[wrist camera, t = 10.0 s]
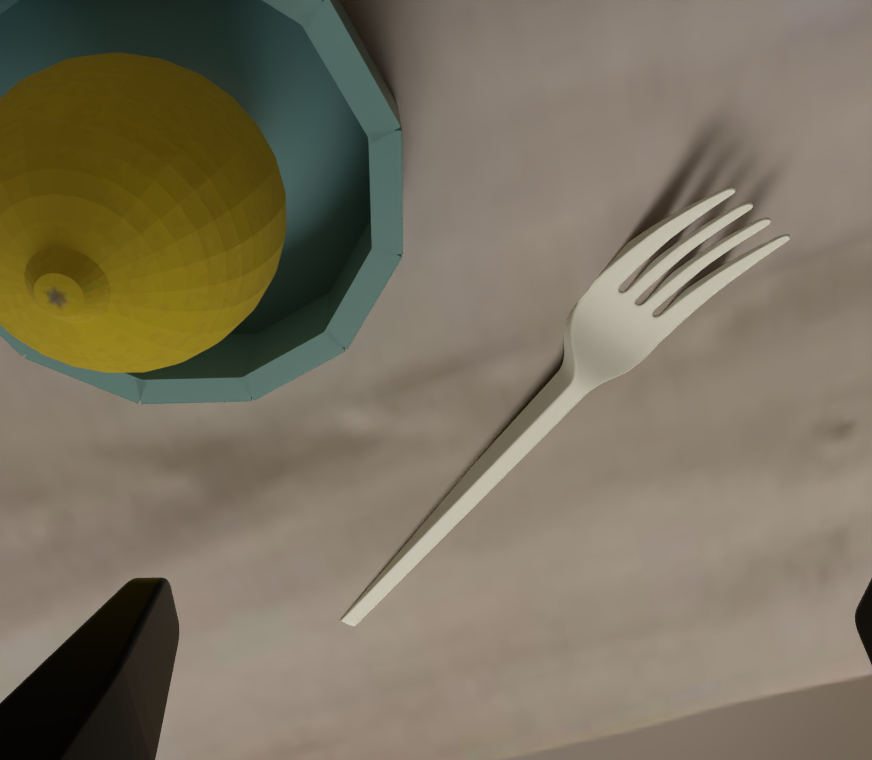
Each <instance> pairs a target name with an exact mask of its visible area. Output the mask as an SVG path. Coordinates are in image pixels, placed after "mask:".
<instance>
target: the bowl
mask: <svg viewBox="0 0 872 760" xmlns="http://www.w3.org/2000/svg"><path fill="white" fill-rule="evenodd" d="M114 52H117V53H127V54H134V55H140V56H147V57H154V58H160V59H164V60H167V61H169V62H171V63H174V64H176V65H179V66H181V67H184V68H186V69H189V70H191V71H194V72H196V73H198V74H201V75H202V76H204V77H205V78H207V79H208V80H210V81H211V82H212V83H214V84H215V85H217V86H218V87H219V88H221V89H222V90H224V91H225V92H227V93H228V94H229V95H231V96H232V97H233V98H234V99H235V100H236V101H237V102H238V103H239V104H240V106H241V107H242V108H243V109H244V110H245V111H246V112H247V113H248V115H249V116H250V117H251V118H252V119H253V120H254V121H255V122H256V123H257V125H258V126H259V128H260V130H261V132H262V133H263V135H264V137H265V139H266V140H267V142H268V144H269V146H270V148H271V149H272V151H273V153H274V155H275V157H276V160H277V164H278V167H279V171H280V174H281V178H282V181H283V185H284V189H285V192H286V236H285V240H284V244H283V248H282V252H281V256H280V260H279V264H278V268H277V271H276V273H275V275H274V277H273V279H272V281H271V282H270V284H269V286H268V287H267V289H266V291H265V293H264V294H263V296H262V298H261V300H260V301H259V303H258V305H257V306H256V307H255V309H254V310H253V311H252V312H251V313H250V314H249V315H248V316H247V317H246V318H245V319H244V320H243V321H242V322H241V323H240V324H239V325H238V326H237V327H236V328H235V329H234V330H232V331H231V332H230V333H229V334H228V335H227V336H226V337H225V338H224V339H223V340H221V341H220V342H219V343H217V344H216V345H214V346H212V347H210V348H209V349H207V350H205V351H203V352H201V353H199V354H197V355H196V356H194V357H192V358H190V359H188V360H186V361H184V362H182V363H179V364H176V365H172V366H168V367H164V368H160V369H156V370H152V371H148V372H133V373H105V372H100V371H94V370H89V369H84V368H78V367H73V366H70V365H68V364H65V363H63V362H60V361H58V360H55V359H52V358H50V357H47V356H45V355H42V354H40V353H39V352H37V351H36V350H34V349H32V348H31V347H29V346H28V345H26V344H25V343H23V342H21V341H20V340H18V339H17V338H15V337H13V336H12V335H11V334H10V333H9V332H8V331H7V330H6V329H4V328H3V327H2V326H1V325H0V336H1V337H2V338H3V339H4V340H5V341H7V342H8V343H9V344H10V345H11V346H12V347H13V348H14V349H15V350H16V351H17V352H18V353H19V354H20V355H21V356H22V355H24V354H26V356H25V358H26V359H28V360H31V361H33V362H35V363H38V364H40V365H43V366H45V367H48V368H50V369H53V370H55V371H58V372H60V373H63V374H65V375H68V376H70V377H73V378H75V379H78V380H80V381H83V382H85V383H88V384H90V385H93V386H95V387H98V388H100V389H103V390H105V391H108V392H110V393H113V394H115V395H118V396H120V397H123V398H125V399H128V400H130V401H133V402H135V403H138V402H139V401H140V400H141V404H167V403H204V402H241V401H252V398H253V399H254V400H256V399H258V398H260V397H262V396H264V395H265V394H267V393H269V392H271V391H273V390H275V389H276V388H278V387H280V386H282V385H284V384H286V383H288V382H289V381H291V380H293V379H295V378H297V377H299V376H300V375H302V374H304V373H306V372H308V371H310V370H311V369H313V368H315V367H317V366H319V365H321V364H323V363H324V362H326V361H328V360H330V359H332V358H334V357H335V356H337V355H339V354H341V353H343V352H345V348H346V349H348V347H349V346H350V344H351V342H352V341H353V339H354V337H355V336H356V334H357V332H358V330H359V329H360V327H361V325H362V324H363V322H364V320H365V319H366V317H367V315H368V314H369V312H370V310H371V309H372V307H373V305H374V304H375V302H376V300H377V299H378V297H379V295H380V293H381V292H382V290H383V288H384V287H385V285H386V283H387V282H388V280H389V278H390V277H391V275H392V273H393V272H394V270H395V268H396V267H397V265H398V263H399V262H400V260H401V258H402V254H403V214H402V129H401V123H400V118H399V112H398V106H397V103H396V101H395V99H394V97H393V96H392V94H391V92H390V90H389V88H388V86H387V85H386V83H385V81H384V79H383V77H382V76H381V74H380V72H379V70H378V68H377V67H376V65H375V63H374V61H373V59H372V58H371V56H370V54H369V52H368V50H367V49H366V47H365V45H364V43H363V41H362V39H361V38H360V36H359V34H358V32H357V30H356V29H355V27H354V25H353V23H352V21H351V20H350V18H349V16H348V14H347V12H346V11H345V9H344V7H343V5H342V3H341V2H340V0H0V98H1V97H2V96H3V95H4V94H5V93H6V92H8V91H9V90H10V89H11V88H12V87H13V86H14V85H15V84H17V83H18V82H19V81H21V80H22V79H24V78H26V77H28V76H30V75H32V74H34V73H37V72H39V71H41V70H43V69H46V68H48V67H50V66H52V65H54V64H57V63H59V62H61V61H63V60H66V59H69V58H74V57H81V56H89V55H97V54H105V53H114Z"/></svg>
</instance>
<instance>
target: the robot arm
mask: <svg viewBox="0 0 872 760" xmlns="http://www.w3.org/2000/svg"><path fill="white" fill-rule="evenodd" d="M855 623H856V627H857V631H858V633H859V636H860V638H861V640H862V643H863V645H864V648H865V650H866V652H867V655H868V657H869V659H870V662H871V664H872V579H871V581H870V583H869V585H868V587H867V589H866V591H865V593H864V595H863V597H862V599H861V601H860V603H859V605H858V607H857V609H856V613H855ZM178 641H179V621H178V617H177V612H176V608H175V604H174V599H173V595H172V590H171V586H170V584H169V582H168V580H167V579H165V578H135V579H132V580H130V581H129V582H127V583H126V584H125V585H124V586H123V587H122V588H121V589H120V590H119V591H118V592H117V593H116V594H115V595H114V596H113V597H111V598H110V599H109V600H108V601H107V602H106V603H105V604H104V605H103V606H102V607H101V608H100V609H99V610H98V611H97V612H96V613H95V614H94V615H93V616H91V617H90V618H89V619H88V620H87V621H86V622H85V623H84V624H83V625H82V626H81V627H80V628H79V629H78V630H77V631H76V632H75V633H74V634H73V635H72V636H70V637H69V638H68V639H67V640H66V641H65V642H64V643H63V644H62V645H61V646H60V647H59V648H58V649H57V650H56V651H55V652H54V653H53V654H52V655H51V656H49V657H48V658H47V659H46V660H45V661H44V662H43V663H42V664H41V665H40V666H39V667H38V668H37V669H36V670H35V671H34V672H33V673H32V674H31V675H30V676H28V677H27V678H26V679H25V680H24V681H23V682H22V683H21V684H20V685H19V686H18V687H17V688H16V689H15V690H14V691H13V692H12V693H11V694H10V695H8V696H7V697H6V698H5V699H4V700H3V701H2V702H1V703H0V760H155V757H156V753H157V748H158V743H159V738H160V733H161V728H162V723H163V718H164V712H165V707H166V702H167V697H168V692H169V687H170V682H171V677H172V672H173V667H174V662H175V656H176V651H177V646H178Z"/></svg>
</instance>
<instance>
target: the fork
mask: <svg viewBox="0 0 872 760" xmlns="http://www.w3.org/2000/svg"><path fill="white" fill-rule="evenodd" d="M734 193H735V188H734V187H728V188H725V189H723V190H721V191H718V192H716V193H714V194H712V195H709V196H707V197H705V198H703V199H701V200H699V201H697V202H695V203H693V204H691V205H689V206H687V207H685V208H683V209H681V210H679V211H677V212H676V213H674V214H672V215H670V216H669V217H667V218H665V219H663V220H662V221H660V222H658V223H657V224H655V225H653V226H652V227H650V228H649V229H647V230H646V231H644V232H643V233H641V234H640V235H638V236H637V237H635V238H634V239H632V240H631V241H630V242H628V243H627V244H626V245H625V246H624V247H623V249H622V250H621V251H620V252H619V253H618V254H617V255H616V257H615V258H614V259H613V260H612V261H611V262H610V263H609V265H608V266H607V267H606V268H605V269H604V270H603V271H602V273H601V274H600V275H599V276H598V277H597V279H596V280H595V281H594V283H593V284H592V286H591V287H590V289H589V290H588V291H587V292H586V293H585V294H584V295H583V296H582V297H581V299H580V300H579V301H578V302H577V304H576V305H575V307H574V308H573V310H572V312H571V313H570V315H569V317H568V320H567V322H566V325H565V329H564V336H563V338H564V360H563V363H562V366H561V368H560V370H559V371H558V372H557V373H556V374H555V376H554V377H553V378H552V379H551V380H550V381H549V382H548V383H547V384H546V386H545V387H544V388H543V389H542V390H541V391H540V392H539V393H538V394H537V395H536V397H535V398H534V399H533V400H532V401H531V402H530V403H529V404H528V405H527V406H526V407H525V409H524V410H523V411H522V412H521V413H520V414H519V415H518V416H517V417H516V418H515V420H514V421H513V422H512V423H511V424H510V425H509V426H508V427H507V428H506V429H505V430H504V432H503V433H502V434H501V435H500V436H499V437H498V438H497V439H496V440H495V441H494V443H493V444H492V445H491V446H490V447H489V448H488V449H487V450H486V451H485V452H484V453H483V455H482V456H481V457H480V458H479V459H478V460H477V461H476V462H475V463H474V465H473V466H472V467H471V468H470V469H469V470H468V472H467V473H466V474H465V475H464V476H463V477H462V479H461V480H460V481H459V482H458V483H457V485H456V486H455V487H454V488H453V489H452V490H451V492H450V493H449V494H448V495H447V496H446V497H445V499H444V500H443V501H442V502H441V503H440V505H439V506H438V507H437V508H436V509H435V510H434V512H433V513H432V514H431V515H430V516H429V517H428V519H427V520H426V521H425V522H424V523H423V524H422V526H421V527H420V528H419V529H418V530H417V532H416V533H415V534H414V535H413V536H412V537H411V539H410V540H409V541H408V542H407V543H406V544H405V546H404V547H403V548H402V549H401V550H400V551H399V553H398V554H397V555H396V556H395V557H394V558H393V560H392V561H391V562H390V563H389V564H388V565H387V566H386V568H385V569H384V570H383V571H382V572H381V573H380V575H379V576H378V577H377V578H376V579H375V580H374V582H373V583H372V584H371V585H370V586H369V587H368V588H367V590H366V591H365V592H364V593H363V594H362V595H361V596H360V598H359V599H358V600H357V601H356V602H355V603H354V604H353V606H352V607H351V608H350V609H349V610H348V611H347V612H346V614H345V615H344V616H343V617H342V618H341V619H340V621H342V622H344V623H346V624H348V625H351V626H355V625H357V624H358V623H359V622H360V621H361V620H362V619H363V618H364V617H365V616H366V615H367V614H368V613H369V612H370V611H371V610H372V609H373V608H374V607H375V606H376V605H377V604H378V603H379V602H380V601H381V600H382V599H383V598H384V597H385V596H386V595H387V594H388V593H389V592H390V591H391V590H392V589H393V588H394V587H395V586H396V585H397V583H398V582H399V581H400V580H401V579H402V578H403V577H404V576H405V575H406V574H407V573H408V572H409V571H410V570H411V569H412V568H413V567H414V566H415V565H416V564H417V563H418V562H419V561H420V560H421V559H422V558H423V557H424V556H425V555H426V554H427V553H428V552H429V551H430V550H431V549H432V548H433V547H434V546H435V545H436V544H437V543H438V542H439V541H440V540H441V539H442V538H443V537H444V536H445V535H446V534H447V533H448V532H449V531H450V530H451V529H452V528H453V527H454V526H455V525H456V524H457V523H458V522H459V521H460V520H461V519H462V518H463V517H464V516H465V515H466V514H467V513H468V512H469V511H470V510H471V509H472V508H473V507H474V506H475V505H476V504H477V503H478V502H479V501H480V500H481V499H482V498H483V497H484V496H485V495H486V494H487V493H488V492H489V491H490V490H491V489H492V488H493V487H494V486H495V485H496V484H497V483H498V482H499V481H500V480H501V479H502V478H503V477H504V476H505V475H506V474H507V473H508V472H509V471H510V470H511V469H512V468H513V467H514V466H515V465H516V464H517V463H518V462H519V461H520V460H521V459H522V458H523V457H524V456H525V455H526V454H527V453H528V452H529V451H530V450H531V449H532V448H533V447H534V446H535V445H536V444H537V443H538V442H539V441H540V440H541V439H542V438H543V437H544V436H545V435H546V434H547V433H548V432H549V431H550V430H551V429H552V428H553V427H554V426H555V425H556V424H557V423H558V422H559V421H560V420H561V419H562V418H563V417H564V416H565V415H566V414H567V413H568V412H569V411H570V410H571V409H572V408H573V407H574V406H575V405H576V404H577V403H578V402H579V401H580V400H581V399H582V398H583V397H584V396H585V395H586V394H587V393H588V392H589V391H591V390H592V389H594V388H595V387H597V386H599V385H600V384H602V383H604V382H606V381H608V380H610V379H613V378H615V377H617V376H620V375H622V374H624V373H626V372H628V371H629V370H631V369H632V368H634V367H635V366H636V365H637V364H639V363H640V362H641V361H642V360H643V359H644V358H645V357H646V356H647V355H648V354H649V353H650V352H651V351H652V350H653V349H654V348H655V347H656V346H657V345H658V344H659V343H660V342H661V341H662V340H663V339H664V338H665V337H666V336H668V335H669V334H670V333H671V332H672V331H673V330H674V329H675V328H676V327H677V326H678V325H679V324H680V323H681V322H683V321H684V320H685V319H686V318H687V317H688V316H689V315H690V314H691V313H693V312H694V311H695V310H696V309H697V308H698V307H700V306H701V305H702V304H703V303H704V302H706V301H707V300H708V299H709V298H710V297H712V296H713V295H714V294H715V293H717V292H718V291H719V290H720V289H722V288H723V287H724V286H726V285H727V284H728V283H730V282H731V281H732V280H734V279H735V278H736V277H738V276H739V275H740V274H742V273H743V272H744V271H746V270H747V269H749V268H750V267H751V266H753V265H754V264H755V263H757V262H758V261H760V260H761V259H762V258H764V257H765V256H767V255H768V254H770V253H771V252H773V251H774V250H775V249H777V248H778V247H780V246H781V245H783V244H784V243H786V242H787V241H788V240H789V239H790V235H789V234H783V235H780V236H778V237H776V238H774V239H772V240H770V241H768V242H766V243H764V244H762V245H760V246H758V247H756V248H754V249H752V250H750V251H748V252H746V253H744V254H742V255H740V256H738V257H736V258H735V259H733V260H731V261H729V262H728V263H726V264H724V265H722V266H721V267H719V268H718V269H716V270H714V271H713V272H711V273H710V274H708V275H706V276H705V277H703V278H702V279H700V280H699V281H697V282H696V283H694V284H692V285H691V286H689V287H688V288H686V289H685V290H684V291H683V292H682V293H681V294H680V295H679V296H678V297H677V298H676V299H675V300H674V301H673V302H672V303H671V304H670V305H669V306H668V307H667V308H666V309H665V310H664V311H663V312H662V313H661V314H660V315H658V316H653V315H652V313H653V311H654V310H655V309H656V308H657V307H658V306H659V305H660V304H662V303H663V302H664V301H665V300H666V299H667V298H669V297H670V296H671V295H672V294H673V293H674V292H676V291H677V290H678V289H679V288H680V287H682V286H683V285H684V284H685V283H687V282H688V281H689V280H690V279H691V278H693V277H694V276H695V275H696V274H697V273H699V272H700V271H701V270H702V269H704V268H705V267H706V266H707V265H709V264H710V263H712V262H713V261H714V260H716V259H717V258H719V257H720V256H722V255H723V254H724V253H726V252H727V251H729V250H730V249H732V248H733V247H735V246H736V245H738V244H739V243H741V242H742V241H744V240H746V239H747V238H749V237H750V236H752V235H754V234H755V233H757V232H758V231H760V230H761V229H763V228H765V227H766V226H768V225H769V224H770V223H771V219H770V218H768V217H766V218H762V219H759V220H757V221H755V222H753V223H751V224H749V225H747V226H745V227H743V228H741V229H740V230H738V231H736V232H734V233H732V234H730V235H729V236H727V237H725V238H723V239H721V240H720V241H718V242H716V243H715V244H713V245H711V246H710V247H708V248H707V249H705V250H704V251H702V252H700V253H699V254H697V255H696V256H694V257H693V258H692V259H690V260H689V261H687V262H686V263H684V264H683V265H682V266H680V267H679V268H678V269H676V270H675V271H674V272H672V273H671V274H670V275H669V276H668V277H667V278H666V279H665V280H664V281H663V282H662V283H661V284H660V285H659V287H658V288H657V289H656V290H655V291H654V292H653V293H652V294H651V295H650V296H649V298H648V299H647V300H646V301H645V302H643V303H642V304H641V305H637V304H636V303H635V300H636V299H637V298H638V297H639V296H640V295H641V294H642V293H643V292H644V291H645V290H646V289H647V288H648V287H649V286H650V285H652V284H653V283H654V282H655V281H656V280H657V279H658V278H659V277H661V276H662V275H663V274H664V273H665V272H666V271H668V270H669V269H670V268H671V267H672V266H673V265H675V264H676V263H677V262H678V261H679V260H680V259H682V258H683V257H684V256H685V255H686V254H688V253H689V252H690V251H691V250H693V249H694V248H695V247H697V246H698V245H699V244H701V243H702V242H704V241H705V240H706V239H708V238H709V237H711V236H712V235H713V234H715V233H716V232H718V231H719V230H720V229H722V228H723V227H725V226H726V225H728V224H729V223H731V222H732V221H734V220H736V219H737V218H739V217H740V216H741V215H743V214H745V213H746V212H748V211H749V210H751V209H752V208H753V203H752V202H746V203H743V204H740V205H738V206H736V207H734V208H732V209H730V210H729V211H727V212H725V213H723V214H721V215H720V216H718V217H716V218H715V219H713V220H711V221H709V222H708V223H706V224H704V225H703V226H701V227H699V228H698V229H696V230H695V231H693V232H692V233H690V234H689V235H687V236H686V237H684V238H683V239H681V240H680V241H678V242H677V243H676V244H674V245H673V246H671V247H670V248H669V249H667V250H666V251H665V252H663V253H662V254H661V255H659V256H658V257H657V258H656V259H654V260H653V261H652V262H651V263H650V264H649V265H648V266H647V268H646V269H645V270H644V271H643V272H642V273H641V274H640V276H639V277H638V278H637V279H636V280H635V281H634V282H633V284H632V285H631V286H630V287H629V288H628V289H627V290H626V291H624V292H620V291H619V286H620V285H621V284H622V283H623V282H624V281H625V280H626V279H627V278H628V277H629V276H630V275H631V274H632V273H633V272H634V271H635V270H636V269H637V268H638V267H639V266H640V265H641V264H643V263H644V262H645V261H646V260H647V259H648V258H649V257H650V256H652V255H653V254H654V253H655V252H656V251H657V250H658V249H659V248H661V247H662V246H663V245H664V244H665V243H666V242H667V241H669V240H670V239H671V238H672V237H674V236H675V235H676V234H677V233H679V232H680V231H681V230H683V229H684V228H685V227H687V226H688V225H689V224H691V223H692V222H693V221H695V220H696V219H697V218H699V217H700V216H702V215H703V214H704V213H706V212H707V211H709V210H710V209H712V208H713V207H715V206H716V205H718V204H719V203H721V202H722V201H724V200H725V199H727V198H728V197H730V196H731V195H733V194H734Z"/></svg>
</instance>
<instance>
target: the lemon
mask: <svg viewBox="0 0 872 760" xmlns="http://www.w3.org/2000/svg"><path fill="white" fill-rule="evenodd" d="M285 236H286V192H285V189H284V185H283V181H282V178H281V174H280V171H279V167H278V164H277V160H276V157H275V155H274V153H273V151H272V149H271V148H270V146H269V144H268V142H267V140H266V139H265V137H264V135H263V133H262V132H261V130H260V128H259V126H258V125H257V123H256V122H255V121H254V120H253V119H252V118H251V117H250V116H249V115H248V113H247V112H246V111H245V110H244V109H243V108H242V107H241V106H240V104H239V103H238V102H237V101H236V100H235V99H234V98H233V97H232V96H231V95H229V94H228V93H227V92H225V91H224V90H222V89H221V88H219V87H218V86H217V85H215V84H214V83H212V82H211V81H210V80H208V79H207V78H205V77H204V76H202V75H201V74H198V73H196V72H194V71H191V70H189V69H186V68H184V67H181V66H179V65H176V64H174V63H171V62H169V61H167V60H164V59H160V58H154V57H147V56H140V55H134V54H127V53H117V52H114V53H105V54H97V55H89V56H81V57H74V58H69V59H66V60H63V61H61V62H59V63H57V64H54V65H52V66H50V67H48V68H46V69H43V70H41V71H39V72H37V73H34V74H32V75H30V76H28V77H26V78H24V79H22V80H21V81H19V82H18V83H17V84H15V85H14V86H13V87H12V88H11V89H10V90H9V91H8V92H6V93H5V94H4V95H3V96H2V97H1V98H0V325H1V326H2V327H3V328H4V329H6V330H7V331H8V332H9V333H10V334H11V335H12V336H13V337H15V338H17V339H18V340H20V341H21V342H23V343H25V344H26V345H28V346H29V347H31V348H32V349H34V350H36V351H37V352H39V353H40V354H42V355H45V356H47V357H50V358H52V359H55V360H58V361H60V362H63V363H65V364H68V365H70V366H73V367H78V368H84V369H89V370H94V371H100V372H105V373H133V372H148V371H152V370H156V369H160V368H164V367H168V366H172V365H176V364H179V363H182V362H184V361H186V360H188V359H190V358H192V357H194V356H196V355H197V354H199V353H201V352H203V351H205V350H207V349H209V348H210V347H212V346H214V345H216V344H217V343H219V342H220V341H221V340H223V339H224V338H225V337H226V336H227V335H228V334H229V333H230V332H231V331H232V330H234V329H235V328H236V327H237V326H238V325H239V324H240V323H241V322H242V321H243V320H244V319H245V318H246V317H247V316H248V315H249V314H250V313H251V312H252V311H253V310H254V309H255V307H256V306H257V305H258V303H259V301H260V300H261V298H262V296H263V294H264V293H265V291H266V289H267V287H268V286H269V284H270V282H271V281H272V279H273V277H274V275H275V273H276V271H277V268H278V264H279V260H280V256H281V252H282V248H283V244H284V240H285Z"/></svg>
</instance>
